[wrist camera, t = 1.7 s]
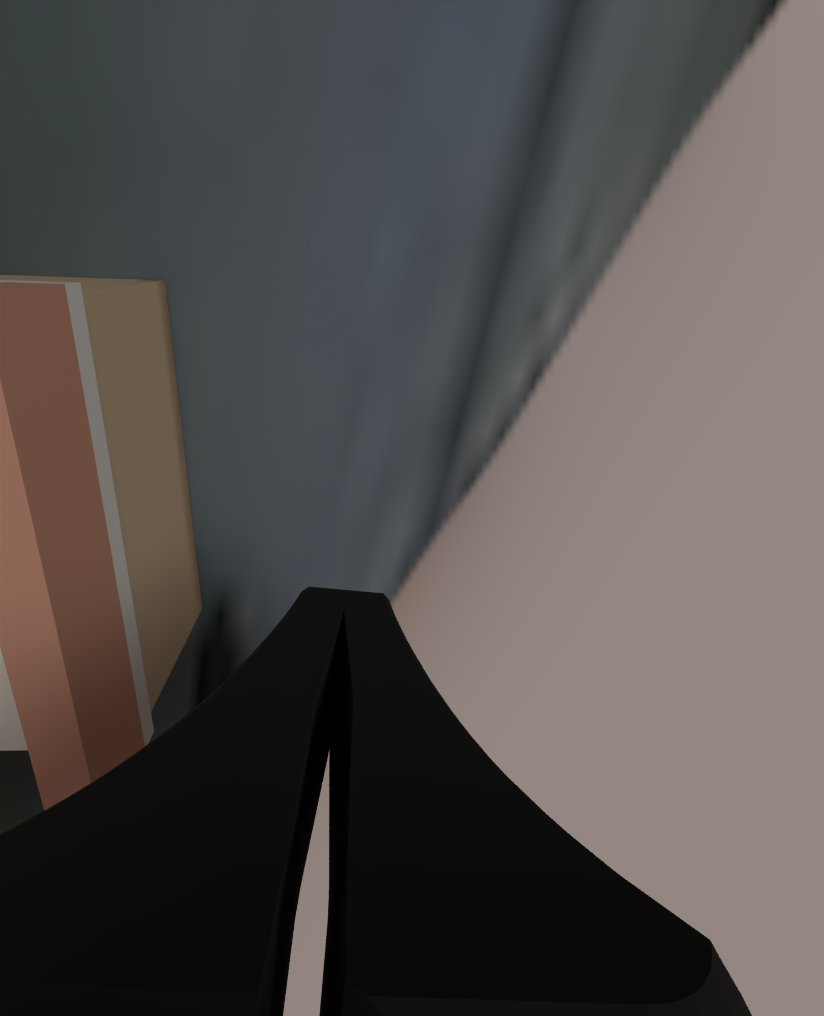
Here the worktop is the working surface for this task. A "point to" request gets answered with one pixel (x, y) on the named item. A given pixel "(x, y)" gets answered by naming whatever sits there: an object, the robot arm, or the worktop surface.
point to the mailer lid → (61, 554)
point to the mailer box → (145, 460)
